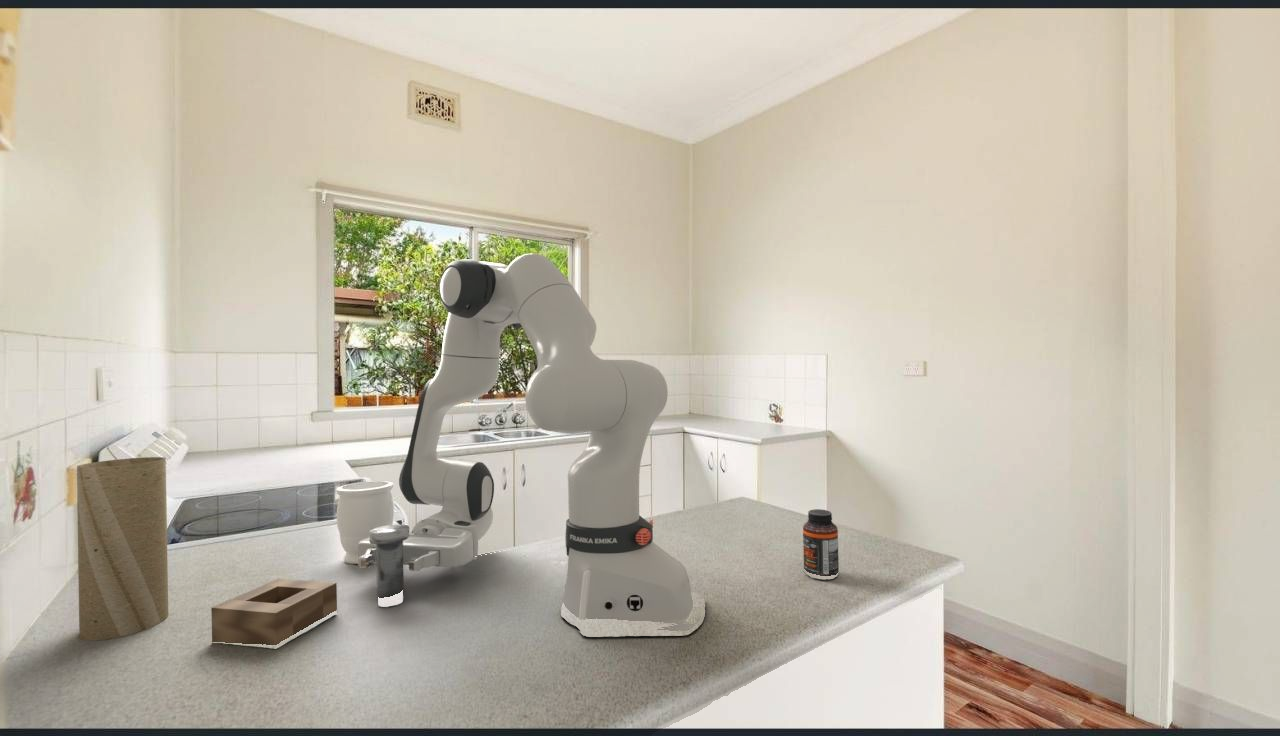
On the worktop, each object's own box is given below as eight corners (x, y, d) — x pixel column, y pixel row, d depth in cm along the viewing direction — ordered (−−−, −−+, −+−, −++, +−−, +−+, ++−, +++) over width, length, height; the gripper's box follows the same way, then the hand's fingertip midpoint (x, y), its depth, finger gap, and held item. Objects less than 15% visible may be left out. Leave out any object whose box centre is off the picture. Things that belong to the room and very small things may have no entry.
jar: (404, 550, 118) (403, 480, 118) (376, 567, 107) (375, 490, 108) (357, 549, 119) (356, 480, 119) (325, 566, 108) (324, 490, 109)
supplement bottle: (796, 572, 99) (795, 510, 99) (822, 567, 101) (820, 506, 102) (820, 584, 94) (818, 517, 94) (846, 577, 96) (844, 513, 96)
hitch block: (337, 614, 86) (336, 582, 86) (276, 649, 75) (275, 613, 75) (278, 609, 88) (278, 578, 88) (212, 643, 78) (211, 607, 78)
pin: (418, 596, 92) (416, 525, 93) (395, 611, 87) (393, 535, 87) (387, 594, 94) (385, 523, 94) (362, 609, 88) (360, 534, 88)
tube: (102, 617, 87) (99, 460, 87) (179, 606, 91) (177, 455, 91) (62, 646, 78) (59, 470, 78) (150, 632, 81) (147, 464, 82)
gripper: (387, 520, 105) (332, 542, 92) (484, 524, 101) (441, 547, 87) (387, 553, 105) (332, 580, 92) (485, 558, 101) (442, 587, 87)
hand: (386, 564), depth 89 cm, fingers open, 8 cm apart
